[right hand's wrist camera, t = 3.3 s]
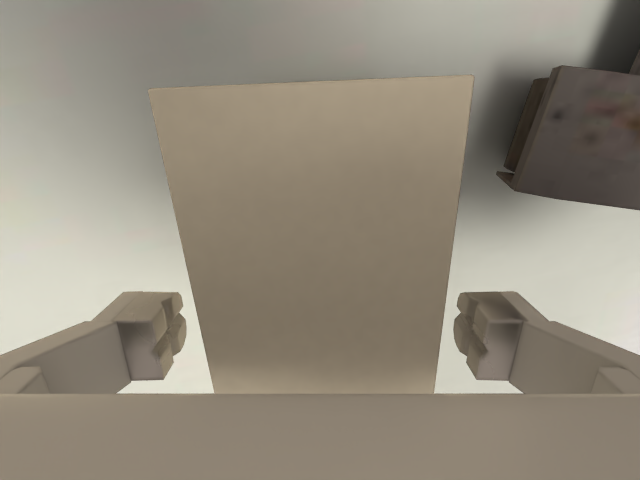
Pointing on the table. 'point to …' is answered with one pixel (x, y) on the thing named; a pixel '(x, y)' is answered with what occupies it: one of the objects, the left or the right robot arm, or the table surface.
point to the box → (318, 227)
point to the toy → (580, 138)
